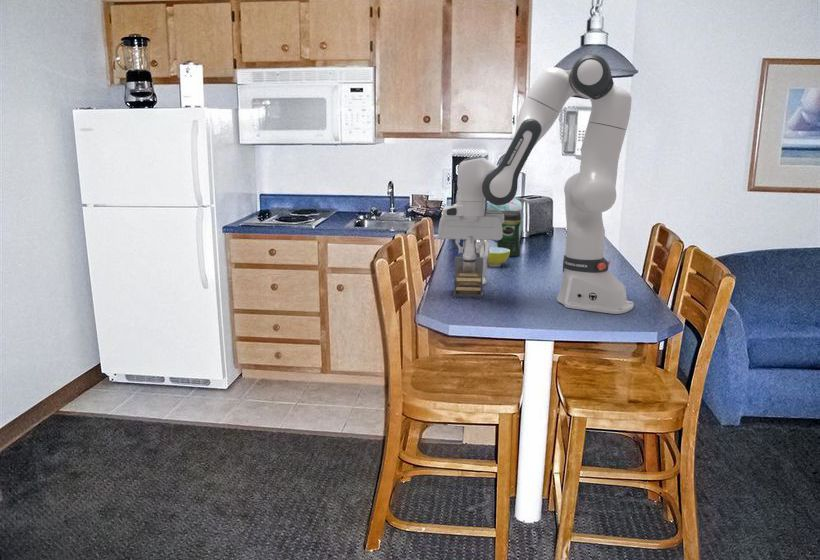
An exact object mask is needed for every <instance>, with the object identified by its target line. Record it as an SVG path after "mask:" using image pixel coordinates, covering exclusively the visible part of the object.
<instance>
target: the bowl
mask: <svg viewBox="0 0 820 560" xmlns="http://www.w3.org/2000/svg"><path fill="white" fill-rule="evenodd" d="M509 254H510V250H509V249H506V248H498V247H497V246H496V247H492V246H491V247H490V246H489V260H488V266H489V267H493V268H499V267H501V266H502V264H503V263H505V262H506V261H508V259H509Z"/></svg>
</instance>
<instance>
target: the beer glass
mask: <svg viewBox="0 0 820 560" xmlns="http://www.w3.org/2000/svg"><path fill="white" fill-rule="evenodd" d="M480 244H481V243H480V240H476V247H479V246H480ZM489 247H490V240H484V245H483V246H482V248H481V253H480V254H476V257H483V277H482V286H485V285H487V284H488V280H487V270H488V266H489V263H488V260H489Z"/></svg>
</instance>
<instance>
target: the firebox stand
mask: <svg viewBox="0 0 820 560" xmlns="http://www.w3.org/2000/svg"><path fill="white" fill-rule="evenodd" d="M482 277H483V257H476V264H475V273H473V274H467V273H463V256H455V257H454V280H453V281H454V283H453V284H454V286H453V287H454V289H453V297H454V298H473V297H478V298H477V299H483V296H484V291H483V285H482Z"/></svg>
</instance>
